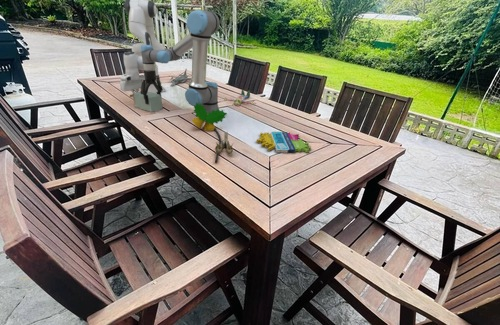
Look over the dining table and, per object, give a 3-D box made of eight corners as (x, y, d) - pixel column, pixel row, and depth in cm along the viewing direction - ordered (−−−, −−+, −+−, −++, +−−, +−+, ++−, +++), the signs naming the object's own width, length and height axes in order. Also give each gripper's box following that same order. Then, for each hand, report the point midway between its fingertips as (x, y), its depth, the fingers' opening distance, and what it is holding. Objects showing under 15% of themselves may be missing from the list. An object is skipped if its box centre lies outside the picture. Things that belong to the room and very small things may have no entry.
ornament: (218, 133, 171) (224, 110, 169) (221, 134, 163) (227, 111, 161) (186, 125, 162) (192, 101, 160) (189, 126, 155) (195, 101, 153)
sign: (313, 150, 142) (258, 149, 139) (312, 153, 143) (258, 152, 140) (301, 132, 164) (254, 130, 161) (301, 134, 165) (254, 133, 162)
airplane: (161, 78, 276) (160, 68, 271) (190, 77, 289) (190, 67, 284) (170, 88, 248) (168, 77, 243) (201, 85, 261) (201, 75, 256)
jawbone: (234, 135, 144) (233, 125, 135) (233, 160, 138) (232, 151, 129) (217, 135, 144) (216, 125, 135) (216, 160, 138) (214, 150, 129)
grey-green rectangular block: (135, 107, 192) (133, 93, 187) (146, 104, 199) (144, 90, 194) (151, 112, 184) (150, 97, 179) (162, 108, 192) (161, 95, 187)
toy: (261, 91, 228) (254, 99, 202) (261, 99, 231) (253, 108, 205) (231, 87, 233) (220, 95, 207) (230, 95, 236) (219, 104, 210)
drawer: (129, 103, 195) (127, 92, 191) (139, 101, 202) (137, 90, 198) (149, 109, 185) (148, 98, 181) (159, 107, 192) (158, 95, 188)
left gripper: (141, 73, 197) (144, 92, 203) (117, 77, 181) (120, 97, 188) (147, 75, 194) (149, 93, 201) (123, 78, 178) (126, 98, 185)
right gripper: (158, 67, 186) (161, 98, 197) (131, 71, 169) (136, 104, 180) (166, 69, 183) (169, 100, 194) (139, 73, 166) (143, 107, 177)
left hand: (135, 95), depth 194 cm, fingers closed
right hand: (153, 102), depth 187 cm, fingers closed on grey-green rectangular block, 10 cm apart
